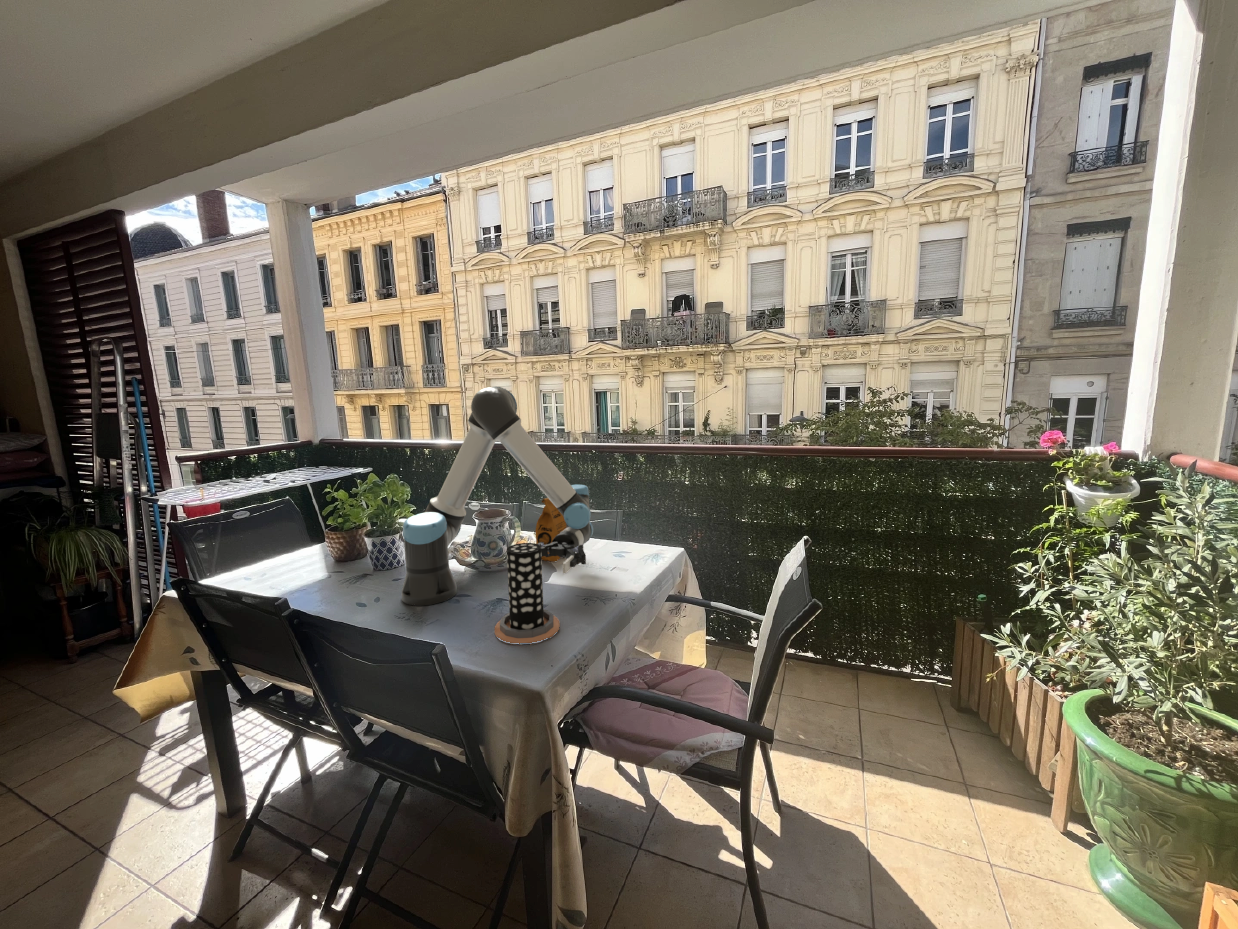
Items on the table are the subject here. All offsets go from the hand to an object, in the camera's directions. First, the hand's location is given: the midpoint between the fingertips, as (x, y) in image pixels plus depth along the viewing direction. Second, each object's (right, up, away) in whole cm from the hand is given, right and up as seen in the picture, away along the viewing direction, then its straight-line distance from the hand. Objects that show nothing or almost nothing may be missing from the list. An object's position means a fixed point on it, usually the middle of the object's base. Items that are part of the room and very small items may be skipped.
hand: (539, 566), depth 134 cm
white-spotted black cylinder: (-2, -13, -7) cm, 15 cm away
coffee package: (-3, -6, +48) cm, 48 cm away
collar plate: (-2, -14, -7) cm, 16 cm away
